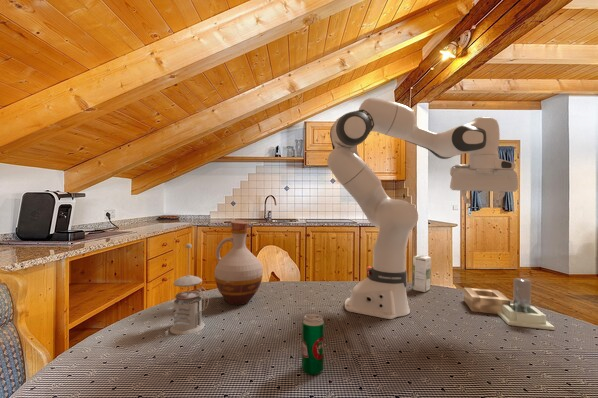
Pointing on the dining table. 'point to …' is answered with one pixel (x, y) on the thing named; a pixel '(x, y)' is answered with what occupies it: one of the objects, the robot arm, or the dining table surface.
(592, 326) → the dining table surface
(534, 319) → the holder
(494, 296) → the bored block
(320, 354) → the soda can
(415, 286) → the syrup box
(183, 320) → the french press
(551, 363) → the dining table surface
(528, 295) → the axle
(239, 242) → the jug
